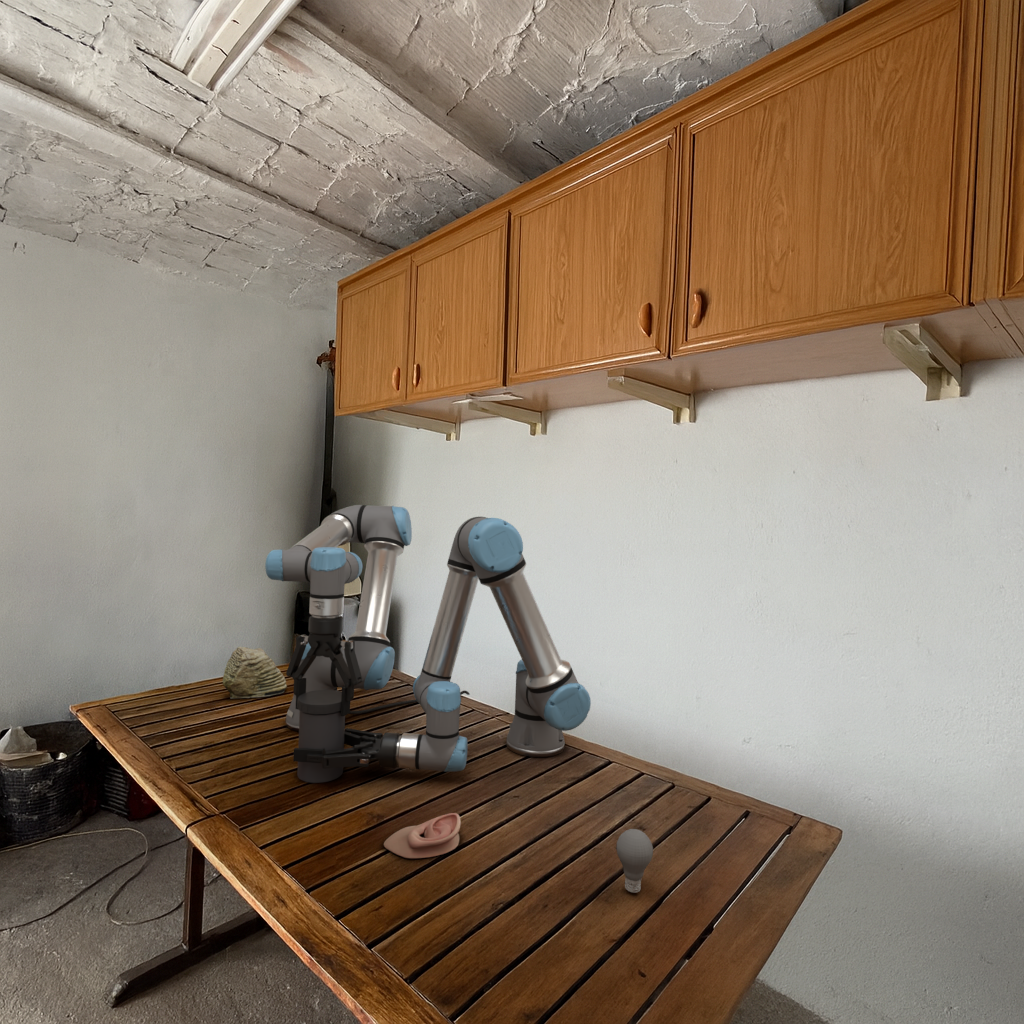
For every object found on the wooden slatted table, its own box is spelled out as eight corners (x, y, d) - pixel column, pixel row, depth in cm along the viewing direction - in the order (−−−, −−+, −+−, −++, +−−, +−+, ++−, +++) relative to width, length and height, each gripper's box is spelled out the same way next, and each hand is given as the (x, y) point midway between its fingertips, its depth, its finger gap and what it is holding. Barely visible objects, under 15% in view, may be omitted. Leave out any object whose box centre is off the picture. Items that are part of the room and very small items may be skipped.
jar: (351, 773, 146) (354, 700, 145) (312, 787, 138) (315, 710, 138) (327, 760, 152) (329, 690, 152) (288, 772, 145) (291, 699, 144)
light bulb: (610, 879, 108) (613, 822, 108) (644, 879, 109) (647, 822, 109) (619, 902, 102) (622, 840, 102) (655, 901, 103) (658, 840, 103)
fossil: (218, 695, 195) (220, 647, 195) (278, 685, 208) (279, 640, 207) (228, 703, 189) (230, 653, 188) (289, 692, 201) (290, 645, 201)
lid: (293, 701, 147) (293, 692, 147) (341, 696, 152) (342, 687, 152) (301, 716, 137) (302, 707, 137) (353, 710, 142) (353, 701, 142)
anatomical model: (377, 831, 113) (401, 802, 124) (376, 853, 113) (400, 822, 124) (448, 842, 110) (466, 811, 122) (447, 865, 111) (465, 832, 122)
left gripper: (271, 613, 144) (268, 709, 144) (364, 623, 138) (360, 723, 138) (292, 608, 151) (288, 699, 152) (380, 617, 145) (376, 712, 145)
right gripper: (387, 789, 133) (282, 783, 134) (408, 747, 156) (318, 742, 156) (388, 754, 133) (284, 748, 134) (409, 717, 156) (320, 712, 156)
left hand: (322, 710), depth 145 cm, fingers closed on lid, 11 cm apart
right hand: (302, 745), depth 145 cm, fingers closed on jar, 10 cm apart
